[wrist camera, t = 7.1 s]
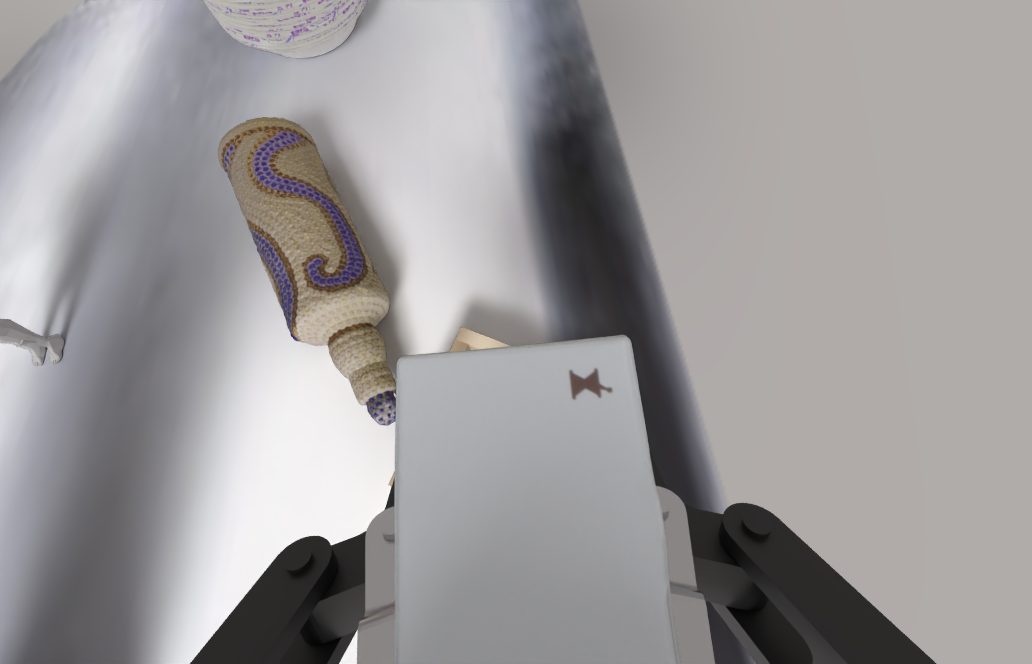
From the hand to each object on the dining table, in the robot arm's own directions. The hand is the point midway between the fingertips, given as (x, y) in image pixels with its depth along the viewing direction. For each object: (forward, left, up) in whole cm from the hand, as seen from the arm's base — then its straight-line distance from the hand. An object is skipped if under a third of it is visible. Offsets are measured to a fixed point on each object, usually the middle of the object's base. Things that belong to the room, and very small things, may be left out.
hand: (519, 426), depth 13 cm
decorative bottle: (-20, +6, -17) cm, 27 cm away
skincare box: (+1, -2, -5) cm, 6 cm away
